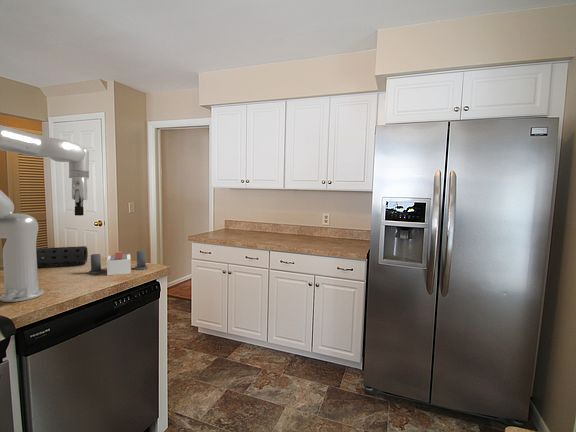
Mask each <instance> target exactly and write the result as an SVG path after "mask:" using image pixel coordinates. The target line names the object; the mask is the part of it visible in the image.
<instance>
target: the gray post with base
mask: <svg viewBox="0 0 576 432" xmlns="http://www.w3.org/2000/svg"><path fill="white" fill-rule="evenodd" d="M101 261H102V260H101V254H100V253H93V254H90V270H89V271H88V275H101V274H103V273H104V269H102V262H101Z"/></svg>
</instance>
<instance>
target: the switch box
mask: <svg viewBox="0 0 576 432" xmlns="http://www.w3.org/2000/svg"><path fill="white" fill-rule="evenodd" d="M131 260H132V258H131V254H130V253H128V254H127V253H122V259H115V254H112V255H107V259H106V274H107V276H114V275H116V276H117V275H125V274H126V275H127V274H131V272H132V268H131V267H132V265H131V264H132V263H131Z"/></svg>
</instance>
